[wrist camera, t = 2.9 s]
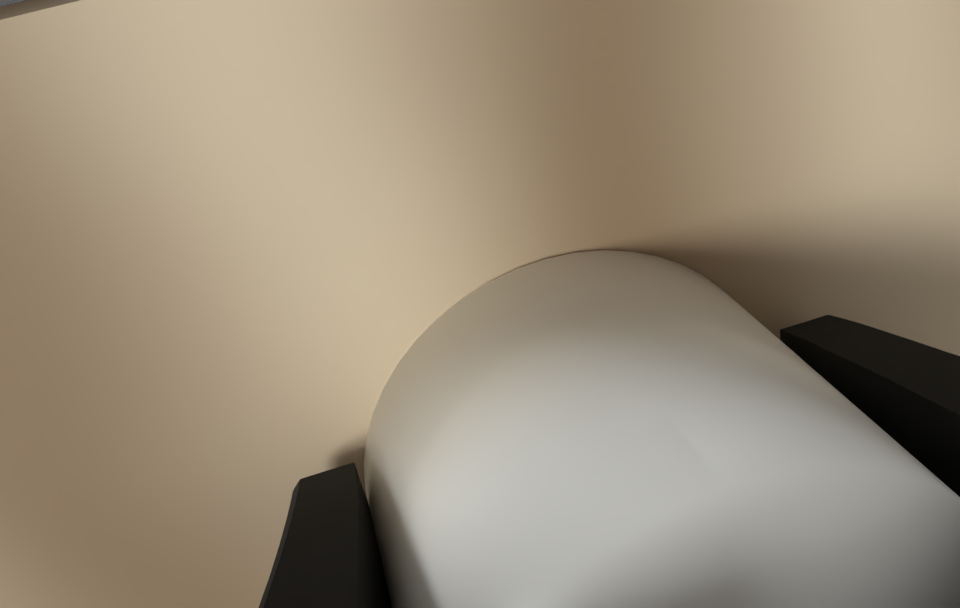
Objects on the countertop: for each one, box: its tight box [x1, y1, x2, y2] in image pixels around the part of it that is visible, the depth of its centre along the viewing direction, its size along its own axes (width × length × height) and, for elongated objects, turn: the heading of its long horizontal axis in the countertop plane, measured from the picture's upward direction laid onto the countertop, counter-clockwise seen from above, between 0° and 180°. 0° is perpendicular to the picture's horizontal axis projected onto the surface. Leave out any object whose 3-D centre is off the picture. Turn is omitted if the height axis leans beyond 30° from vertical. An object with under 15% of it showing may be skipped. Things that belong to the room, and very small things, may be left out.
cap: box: [364, 250, 960, 608], centre depth 9 cm, size 5×5×5 cm
